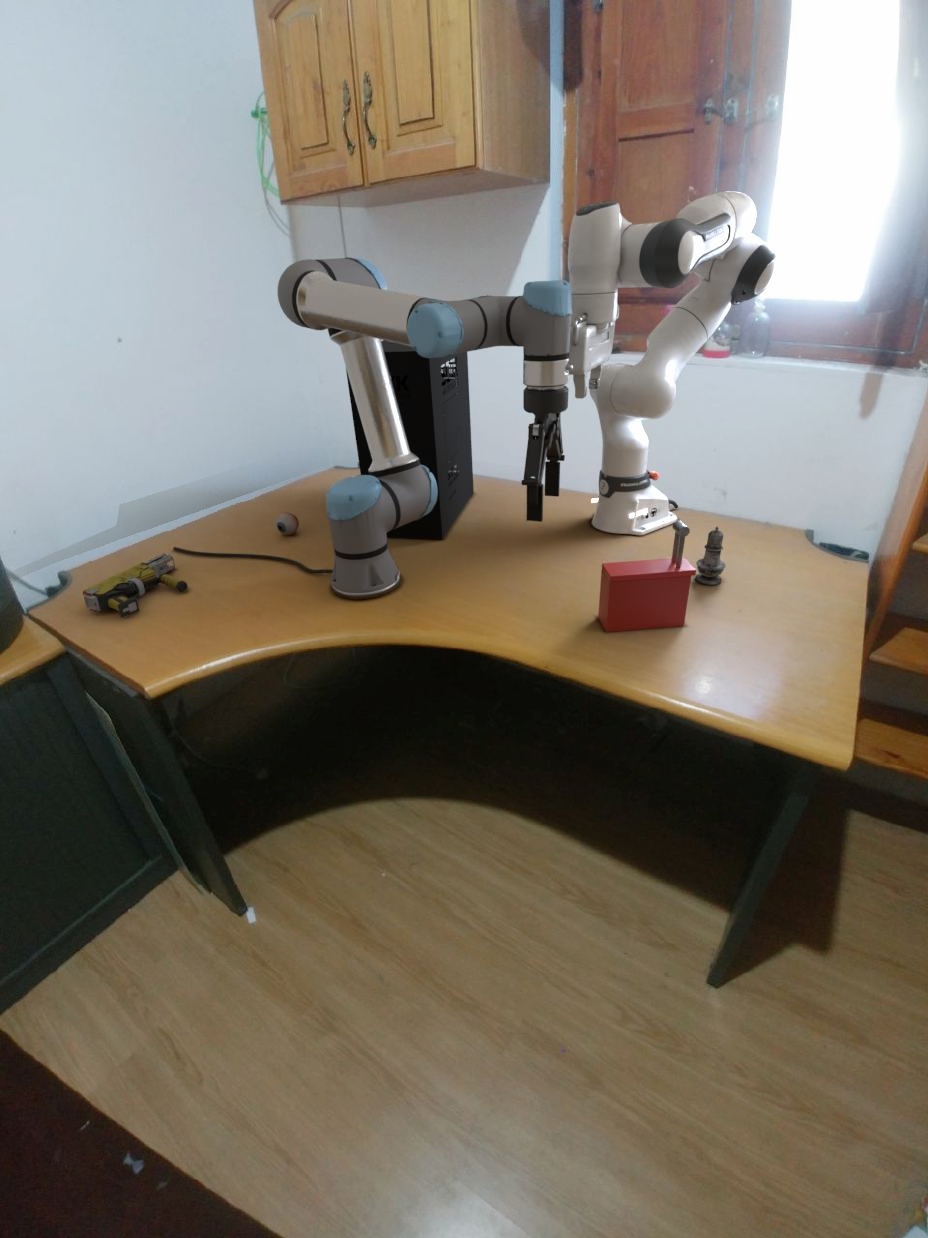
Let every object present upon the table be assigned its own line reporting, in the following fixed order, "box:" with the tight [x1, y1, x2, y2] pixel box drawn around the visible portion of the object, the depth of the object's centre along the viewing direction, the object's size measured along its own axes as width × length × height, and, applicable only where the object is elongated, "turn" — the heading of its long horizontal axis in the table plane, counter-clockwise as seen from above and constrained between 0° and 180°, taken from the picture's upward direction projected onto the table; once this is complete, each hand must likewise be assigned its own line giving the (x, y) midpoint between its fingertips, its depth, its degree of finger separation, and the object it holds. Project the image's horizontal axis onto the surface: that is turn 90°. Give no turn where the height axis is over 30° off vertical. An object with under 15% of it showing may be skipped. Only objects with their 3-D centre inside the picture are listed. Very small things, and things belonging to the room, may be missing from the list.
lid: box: [601, 519, 697, 582], centre depth 108 cm, size 16×6×9 cm, turn 94°
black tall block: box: [344, 340, 475, 540], centre depth 163 cm, size 38×20×45 cm, turn 167°
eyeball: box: [275, 511, 300, 536], centre depth 163 cm, size 6×6×6 cm
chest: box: [597, 569, 692, 633], centre depth 113 cm, size 15×6×10 cm, turn 94°
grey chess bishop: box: [695, 526, 727, 586], centre depth 126 cm, size 6×6×12 cm
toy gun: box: [81, 552, 188, 619], centre depth 136 cm, size 5×24×15 cm
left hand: (543, 507), depth 111 cm, fingers open, 13 cm apart
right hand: (587, 393), depth 114 cm, fingers open, 8 cm apart
